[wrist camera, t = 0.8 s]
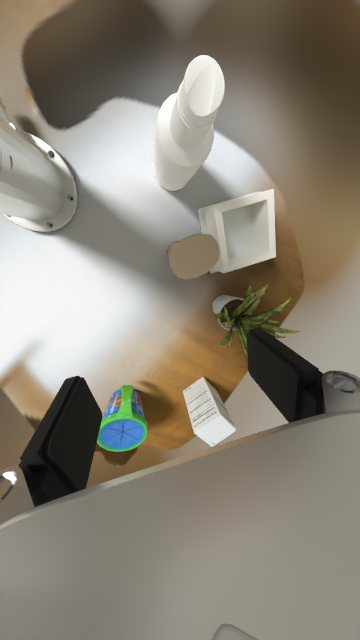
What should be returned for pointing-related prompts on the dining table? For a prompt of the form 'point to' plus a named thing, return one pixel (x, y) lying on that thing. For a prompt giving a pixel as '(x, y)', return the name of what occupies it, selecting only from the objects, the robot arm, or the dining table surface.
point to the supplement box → (207, 412)
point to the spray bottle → (187, 124)
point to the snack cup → (123, 421)
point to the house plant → (245, 315)
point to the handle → (193, 256)
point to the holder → (241, 230)
